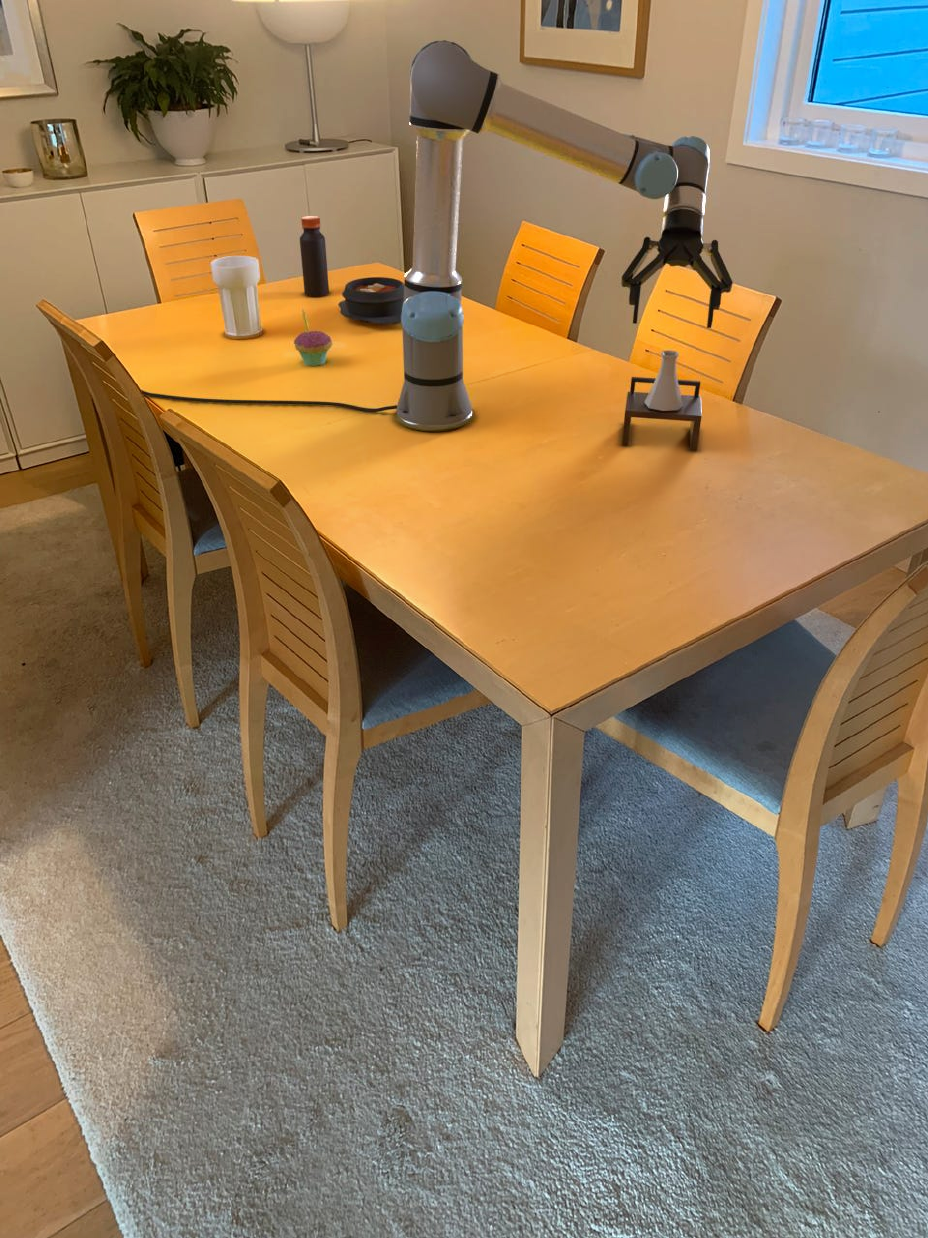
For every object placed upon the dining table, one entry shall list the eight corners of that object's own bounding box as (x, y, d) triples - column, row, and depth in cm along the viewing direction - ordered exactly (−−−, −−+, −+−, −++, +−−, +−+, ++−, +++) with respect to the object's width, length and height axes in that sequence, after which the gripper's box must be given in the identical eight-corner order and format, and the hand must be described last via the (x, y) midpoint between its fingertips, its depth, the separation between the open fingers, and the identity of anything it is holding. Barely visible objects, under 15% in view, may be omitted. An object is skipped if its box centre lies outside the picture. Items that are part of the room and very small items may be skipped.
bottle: (301, 296, 266) (294, 219, 255) (308, 289, 272) (302, 214, 261) (325, 297, 266) (319, 220, 254) (332, 290, 271) (326, 215, 260)
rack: (621, 445, 183) (626, 395, 178) (624, 425, 192) (629, 376, 186) (696, 451, 181) (703, 400, 176) (696, 430, 189) (703, 381, 184)
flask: (682, 413, 178) (689, 360, 173) (643, 410, 179) (649, 358, 174) (683, 399, 184) (690, 347, 178) (645, 396, 185) (650, 345, 180)
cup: (276, 331, 241) (268, 259, 231) (245, 343, 233) (235, 269, 224) (242, 323, 246) (233, 253, 236) (211, 335, 238) (200, 263, 229)
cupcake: (289, 365, 220) (283, 313, 214) (308, 354, 227) (303, 302, 220) (322, 370, 218) (317, 317, 211) (340, 358, 224) (336, 306, 217)
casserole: (432, 323, 247) (431, 289, 242) (369, 336, 238) (367, 301, 233) (383, 299, 264) (381, 268, 259) (322, 311, 255) (319, 278, 250)
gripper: (747, 233, 184) (738, 335, 180) (616, 227, 188) (604, 327, 184) (754, 209, 176) (744, 315, 173) (616, 203, 180) (604, 307, 177)
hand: (672, 322), depth 178 cm, fingers open, 13 cm apart
